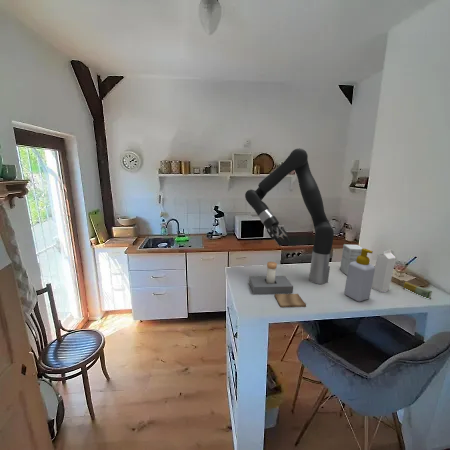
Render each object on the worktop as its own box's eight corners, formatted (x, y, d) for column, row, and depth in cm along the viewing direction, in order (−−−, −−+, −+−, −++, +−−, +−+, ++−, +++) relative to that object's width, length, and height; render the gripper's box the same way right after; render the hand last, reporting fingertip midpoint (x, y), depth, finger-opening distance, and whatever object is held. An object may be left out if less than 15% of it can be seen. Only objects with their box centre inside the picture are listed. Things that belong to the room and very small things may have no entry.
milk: (388, 290, 133) (397, 251, 127) (381, 292, 130) (389, 253, 125) (378, 285, 138) (386, 247, 133) (370, 287, 136) (378, 249, 130)
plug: (273, 285, 133) (275, 261, 130) (275, 290, 129) (278, 265, 125) (264, 286, 133) (266, 261, 130) (266, 290, 128) (268, 265, 125)
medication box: (430, 298, 126) (432, 291, 125) (428, 299, 125) (430, 292, 124) (405, 288, 137) (406, 281, 136) (402, 289, 135) (404, 282, 135)
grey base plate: (284, 282, 138) (285, 275, 137) (292, 293, 126) (293, 286, 125) (249, 283, 136) (249, 276, 135) (253, 294, 124) (254, 287, 123)
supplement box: (361, 276, 149) (366, 249, 145) (346, 275, 149) (350, 249, 145) (353, 269, 159) (358, 244, 155) (339, 269, 159) (343, 243, 155)
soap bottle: (359, 302, 120) (367, 253, 114) (342, 294, 127) (350, 247, 121) (370, 298, 124) (379, 251, 118) (354, 290, 131) (362, 245, 125)
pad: (297, 295, 124) (297, 293, 124) (305, 306, 115) (306, 304, 114) (274, 296, 123) (274, 294, 123) (280, 307, 113) (280, 305, 113)
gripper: (266, 215, 127) (284, 241, 121) (279, 215, 138) (296, 239, 132) (256, 224, 131) (273, 249, 125) (270, 223, 142) (286, 247, 136)
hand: (285, 244), depth 129 cm, fingers open, 8 cm apart
